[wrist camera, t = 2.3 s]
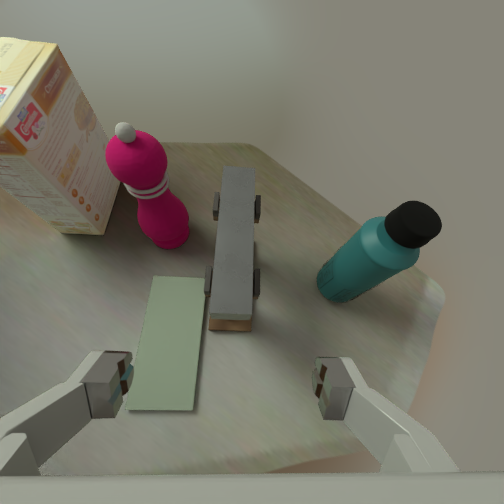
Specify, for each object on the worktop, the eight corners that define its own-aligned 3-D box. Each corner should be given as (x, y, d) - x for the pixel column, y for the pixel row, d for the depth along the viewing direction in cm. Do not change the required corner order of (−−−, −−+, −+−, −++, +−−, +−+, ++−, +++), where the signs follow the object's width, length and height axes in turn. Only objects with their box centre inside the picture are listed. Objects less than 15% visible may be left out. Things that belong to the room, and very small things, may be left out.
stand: (209, 330, 33) (196, 310, 21) (217, 238, 40) (212, 179, 27) (250, 331, 34) (264, 312, 21) (252, 240, 40) (263, 183, 27)
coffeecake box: (87, 165, 44) (-7, 34, 26) (126, 168, 44) (60, 41, 27) (58, 234, 37) (-91, 121, 20) (104, 236, 38) (-1, 129, 21)
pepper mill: (157, 211, 41) (101, 93, 23) (197, 219, 41) (173, 108, 23) (141, 247, 38) (62, 142, 20) (184, 256, 38) (145, 160, 20)
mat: (127, 408, 29) (124, 409, 28) (155, 277, 36) (153, 275, 35) (193, 409, 29) (192, 410, 28) (207, 279, 36) (206, 278, 36)
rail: (211, 318, 21) (208, 312, 19) (224, 184, 28) (223, 165, 26) (249, 320, 22) (252, 314, 19) (252, 186, 29) (255, 168, 26)
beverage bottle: (341, 314, 36) (454, 267, 18) (304, 290, 37) (375, 223, 19) (356, 281, 39) (468, 211, 21) (321, 260, 40) (398, 175, 22)
